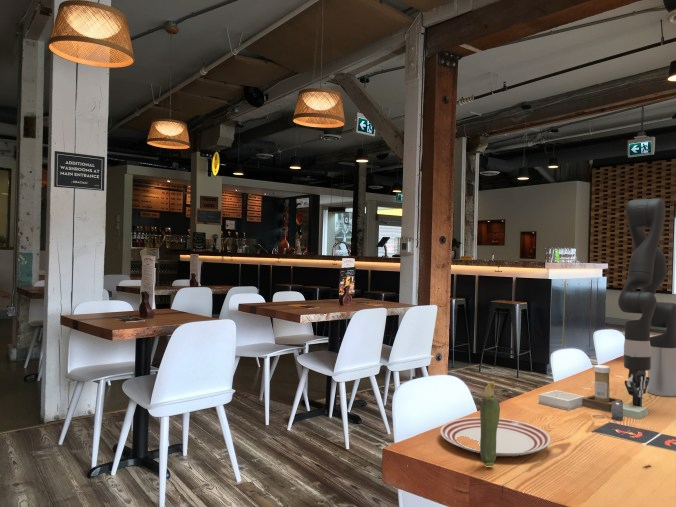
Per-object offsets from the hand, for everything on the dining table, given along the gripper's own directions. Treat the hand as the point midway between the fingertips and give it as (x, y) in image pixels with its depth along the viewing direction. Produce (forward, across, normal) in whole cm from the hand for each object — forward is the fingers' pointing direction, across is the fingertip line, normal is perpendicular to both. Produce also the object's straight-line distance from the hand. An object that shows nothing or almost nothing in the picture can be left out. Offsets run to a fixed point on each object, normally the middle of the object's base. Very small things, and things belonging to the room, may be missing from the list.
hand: (637, 408), depth 169 cm
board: (+2, +5, 0) cm, 5 cm away
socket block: (+1, +4, -10) cm, 10 cm away
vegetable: (+1, +76, 0) cm, 77 cm away
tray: (+1, +12, -19) cm, 22 cm away
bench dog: (+1, +14, 0) cm, 14 cm away
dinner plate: (+1, +62, -9) cm, 63 cm away
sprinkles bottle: (+1, +4, -10) cm, 10 cm away
